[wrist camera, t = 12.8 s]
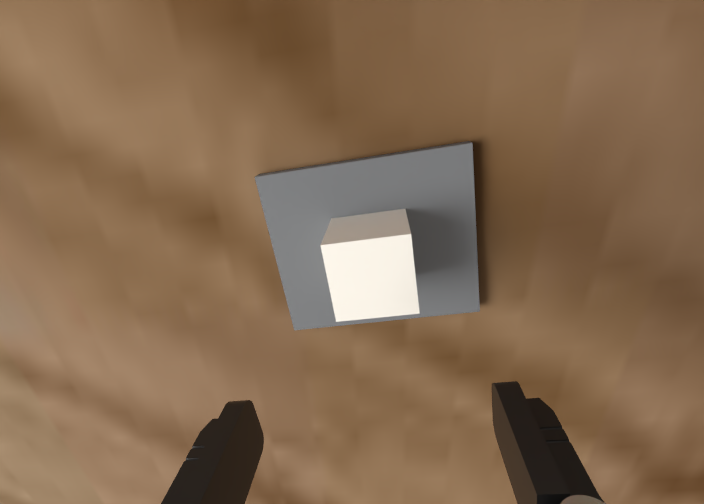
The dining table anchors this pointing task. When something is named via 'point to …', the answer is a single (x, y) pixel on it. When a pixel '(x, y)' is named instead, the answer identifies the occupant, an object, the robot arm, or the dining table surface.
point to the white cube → (370, 266)
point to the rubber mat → (370, 197)
